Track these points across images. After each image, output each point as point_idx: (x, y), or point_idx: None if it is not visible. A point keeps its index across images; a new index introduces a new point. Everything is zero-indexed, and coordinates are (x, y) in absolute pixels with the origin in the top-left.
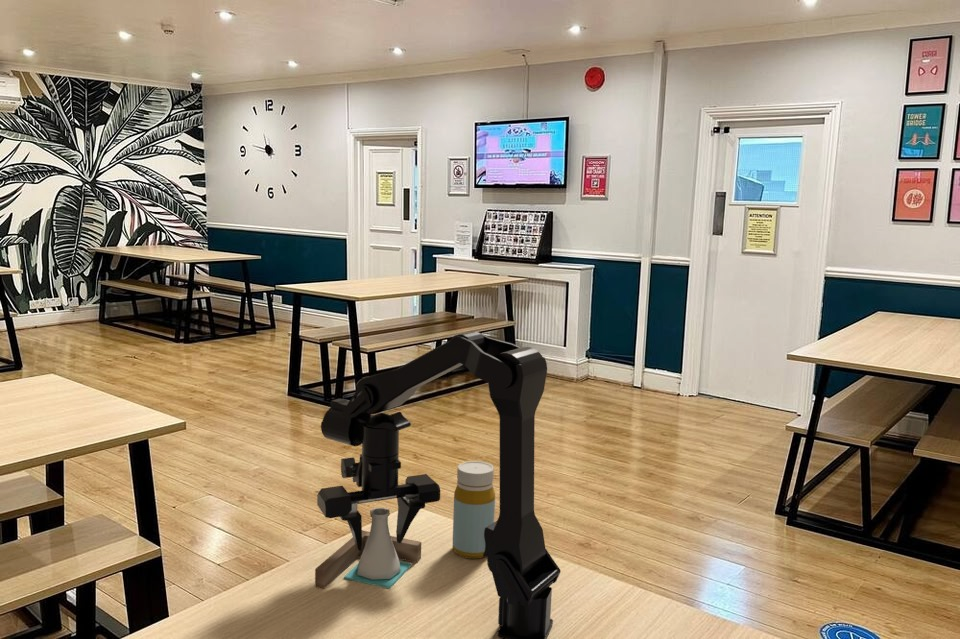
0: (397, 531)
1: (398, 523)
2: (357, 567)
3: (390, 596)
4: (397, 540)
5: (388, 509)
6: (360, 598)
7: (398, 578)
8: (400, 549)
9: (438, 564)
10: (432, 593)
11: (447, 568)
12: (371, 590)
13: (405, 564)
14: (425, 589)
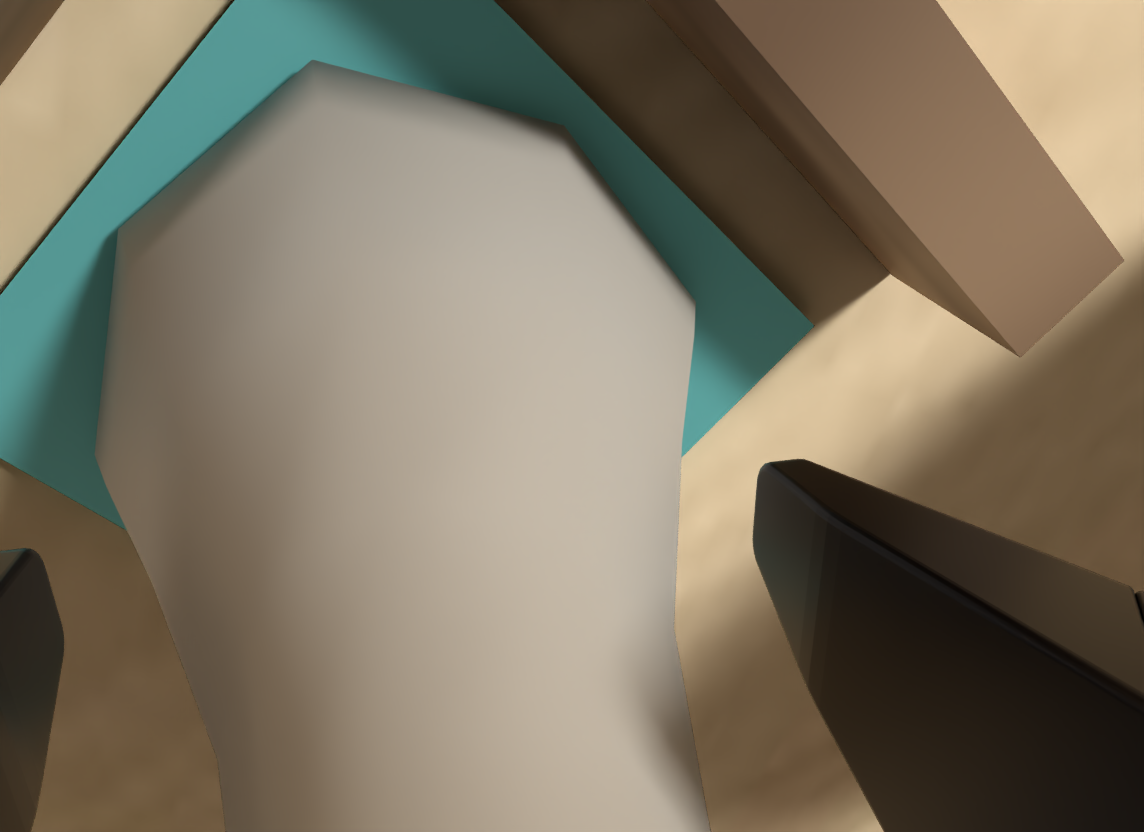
0: (838, 585)
1: (948, 676)
2: (112, 287)
3: None
4: (765, 505)
5: None
6: (100, 789)
7: None
8: (810, 152)
9: (1057, 373)
10: (748, 804)
11: (1080, 469)
12: None
13: (745, 325)
14: (724, 747)
